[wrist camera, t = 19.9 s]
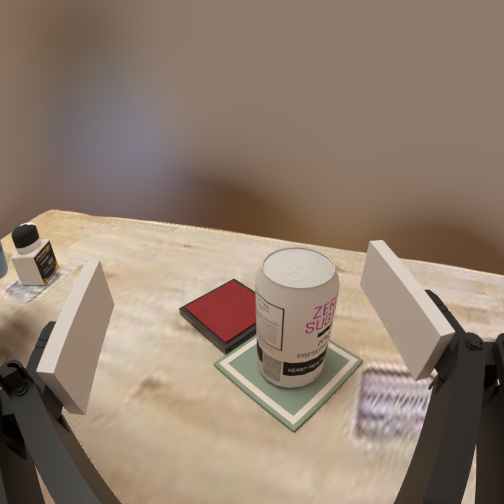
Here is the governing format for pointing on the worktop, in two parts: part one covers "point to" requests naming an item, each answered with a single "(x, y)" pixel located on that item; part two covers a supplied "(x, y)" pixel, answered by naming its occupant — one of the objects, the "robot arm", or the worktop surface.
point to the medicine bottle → (32, 256)
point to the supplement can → (294, 314)
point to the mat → (282, 398)
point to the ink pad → (224, 315)
